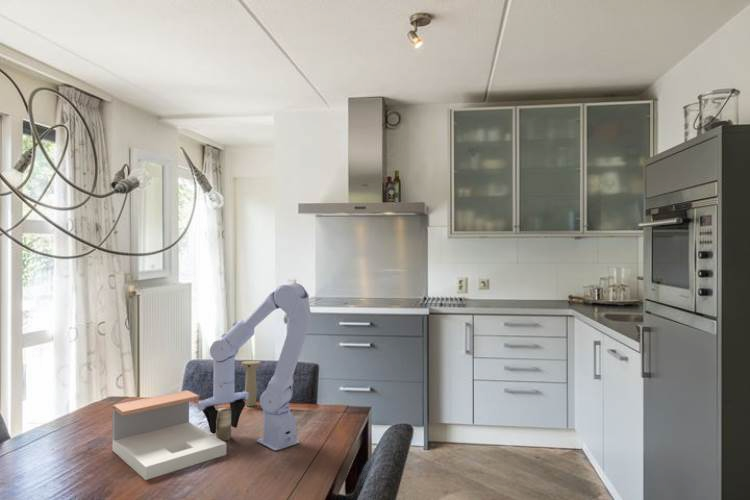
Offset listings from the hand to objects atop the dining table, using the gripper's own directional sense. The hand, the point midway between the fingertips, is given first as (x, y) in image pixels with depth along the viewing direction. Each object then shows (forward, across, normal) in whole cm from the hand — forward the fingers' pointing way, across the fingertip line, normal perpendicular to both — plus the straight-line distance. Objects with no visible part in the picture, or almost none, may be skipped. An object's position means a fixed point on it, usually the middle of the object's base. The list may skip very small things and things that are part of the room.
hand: (223, 429), depth 134 cm
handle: (+3, -21, -21) cm, 30 cm away
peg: (+2, 0, 0) cm, 2 cm away
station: (+2, +15, -1) cm, 15 cm away
